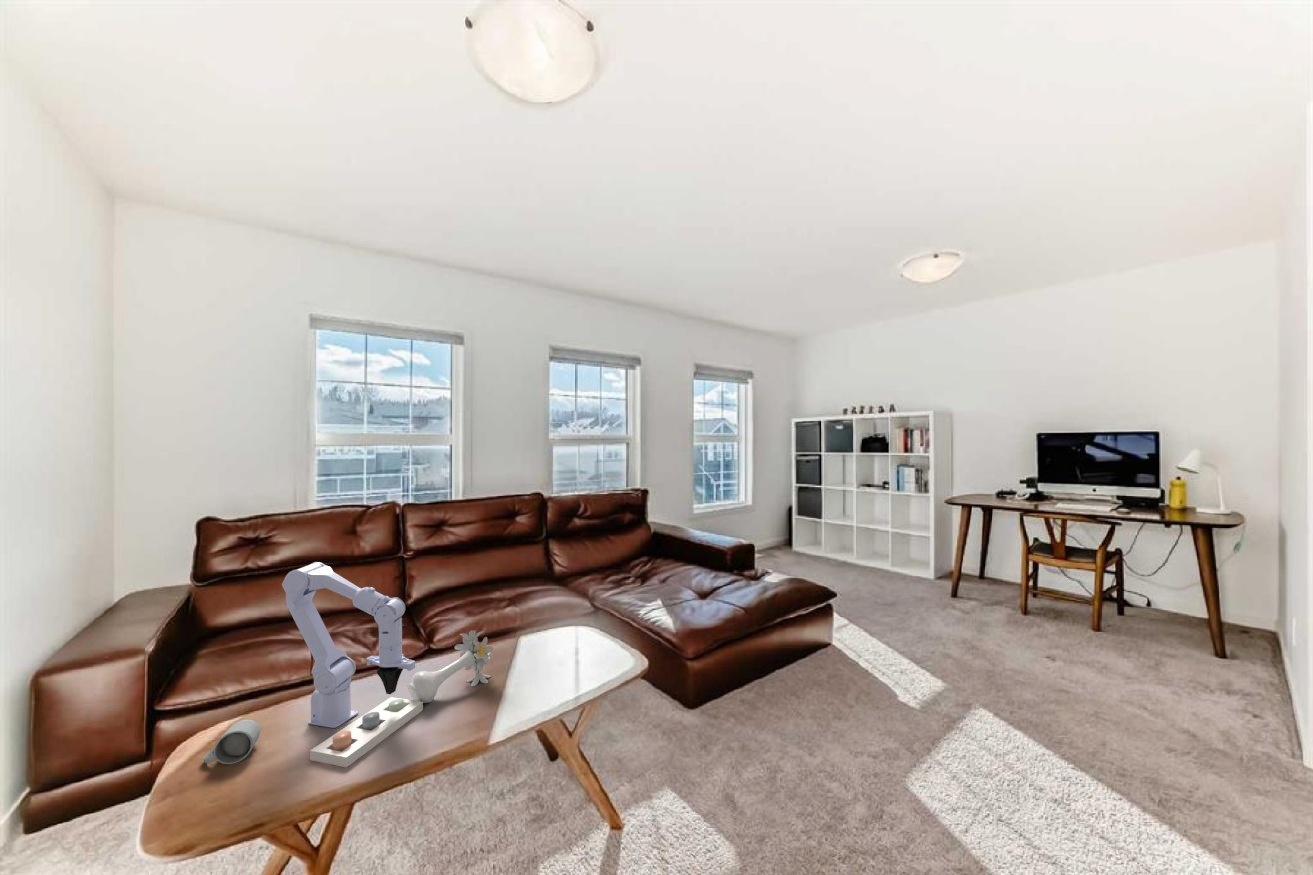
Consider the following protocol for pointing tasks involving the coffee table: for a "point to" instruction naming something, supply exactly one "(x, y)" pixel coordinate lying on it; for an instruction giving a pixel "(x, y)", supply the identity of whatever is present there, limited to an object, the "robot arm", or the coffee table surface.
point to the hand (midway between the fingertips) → (390, 692)
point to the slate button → (370, 721)
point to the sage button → (396, 705)
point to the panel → (366, 734)
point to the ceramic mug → (235, 743)
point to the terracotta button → (342, 740)
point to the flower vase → (453, 668)
